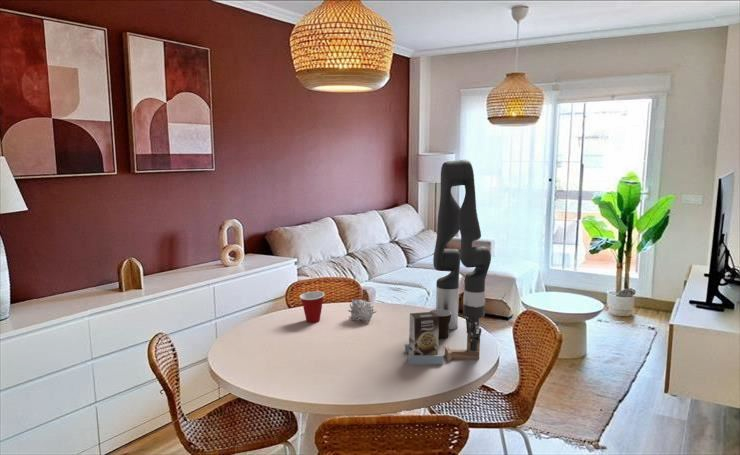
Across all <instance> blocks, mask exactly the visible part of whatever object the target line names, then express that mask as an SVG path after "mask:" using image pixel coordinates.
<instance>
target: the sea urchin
mask: <svg viewBox="0 0 740 455" xmlns="http://www.w3.org/2000/svg"><path fill="white" fill-rule="evenodd" d="M372 303H373V302H369V301H367V300H362V299H359V298H358V299H357V298H356V299H354V298H352V299H351V303H349V308H350V309H348V310H347V312H350V315H349V316H348V319H349V320H350V321H358V320H360V321H362V322H363V323H368V322H370V321H371V319H372V317H373V315H374V314H375V313H377V312H378V311H377V310H376V311H375V309H374V306H373V304H372Z"/></svg>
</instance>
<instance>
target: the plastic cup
mask: <svg viewBox="0 0 740 455" xmlns="http://www.w3.org/2000/svg"><path fill="white" fill-rule="evenodd" d="M324 297H325V292H323V291H318V290H317V291H315V290H314V291H307V292H304V293H301V294H300V295H299V298H300V300H301V303H302V306H303V312H304V316H305V320H306V323H311V324H315V323H318V322H320V321H321V315H322V309H323V302H324Z"/></svg>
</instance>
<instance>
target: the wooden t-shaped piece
mask: <svg viewBox="0 0 740 455" xmlns="http://www.w3.org/2000/svg"><path fill="white" fill-rule="evenodd" d="M466 336H467V337H466V348H461V349H460V348H459V349H458V348H457V349H456V348H454V349H452V348H450V347H449V346H448V345H445V346H444V355H445V358H446V359H447V361H448V362H449V361H450V362H452V359H457V360H458V359H459V360H460V359H463V360H464V359H480V348H481V339H480V340H479V341H477V351H471V350H470V343H471V340H470V334H469V332H467V331H466ZM475 338H476V337H475Z"/></svg>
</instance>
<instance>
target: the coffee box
mask: <svg viewBox="0 0 740 455" xmlns="http://www.w3.org/2000/svg"><path fill="white" fill-rule="evenodd" d="M408 331H409V335H408V344H409V353H408V355H439V340H438V337H439V316H438V315H436V314H435V313H433V312H430V311H426V312H424V311H422V312H411V313H409V330H408Z"/></svg>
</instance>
